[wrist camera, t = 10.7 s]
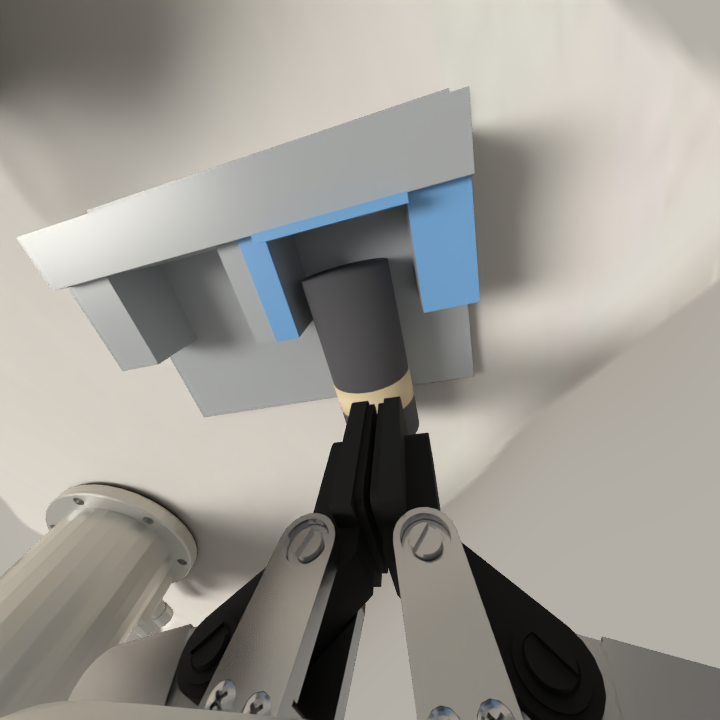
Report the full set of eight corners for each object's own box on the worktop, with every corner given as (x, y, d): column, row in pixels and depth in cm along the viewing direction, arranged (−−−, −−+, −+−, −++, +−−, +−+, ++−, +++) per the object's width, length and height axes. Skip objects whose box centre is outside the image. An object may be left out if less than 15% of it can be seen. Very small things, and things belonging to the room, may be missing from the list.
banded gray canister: (425, 405, 16) (410, 454, 13) (364, 404, 17) (338, 447, 14) (398, 252, 13) (370, 272, 10) (325, 267, 14) (283, 288, 11)
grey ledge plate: (471, 370, 16) (500, 428, 12) (209, 411, 19) (156, 468, 15) (446, 94, 11) (480, 17, 7) (97, 210, 14) (-30, 208, 10)
